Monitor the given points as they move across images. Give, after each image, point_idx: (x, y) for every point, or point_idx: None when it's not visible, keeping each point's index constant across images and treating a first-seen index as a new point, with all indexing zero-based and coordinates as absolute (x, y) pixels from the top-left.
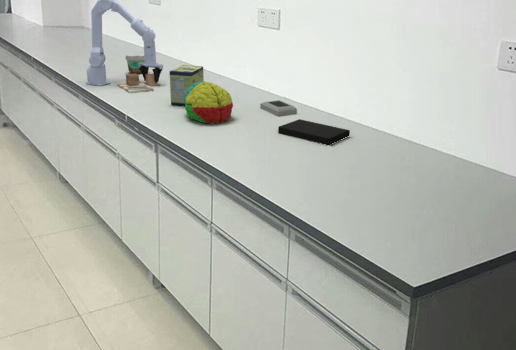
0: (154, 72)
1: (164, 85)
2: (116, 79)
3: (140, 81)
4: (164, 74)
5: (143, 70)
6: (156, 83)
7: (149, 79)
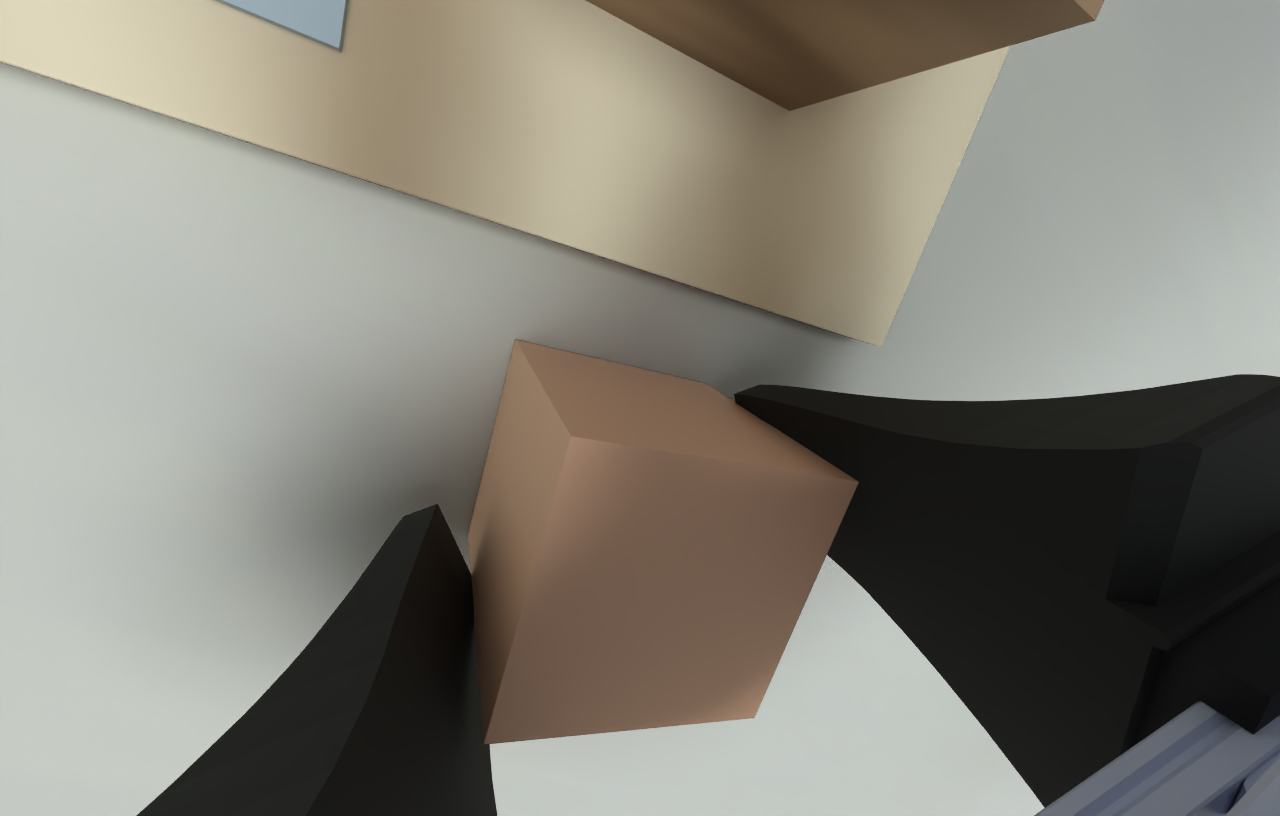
0: (227, 799)
1: (271, 631)
2: (1246, 193)
3: (834, 325)
4: (909, 805)
5: (1008, 480)
6: (472, 535)
7: (535, 415)
